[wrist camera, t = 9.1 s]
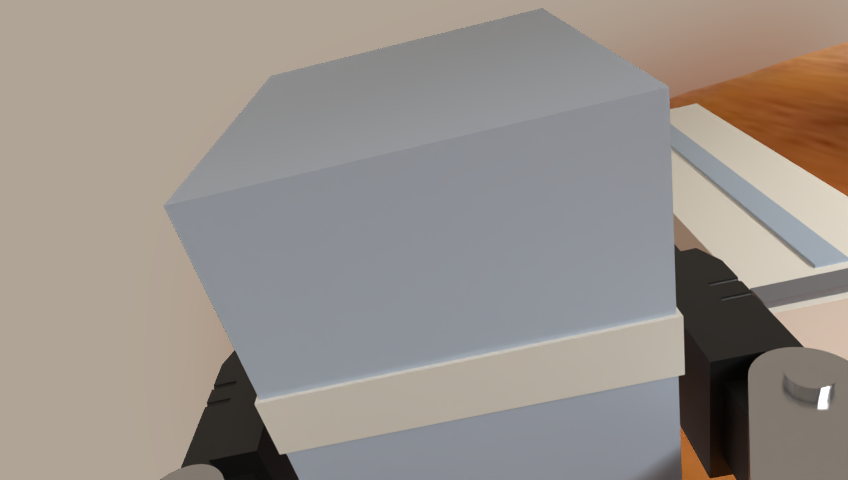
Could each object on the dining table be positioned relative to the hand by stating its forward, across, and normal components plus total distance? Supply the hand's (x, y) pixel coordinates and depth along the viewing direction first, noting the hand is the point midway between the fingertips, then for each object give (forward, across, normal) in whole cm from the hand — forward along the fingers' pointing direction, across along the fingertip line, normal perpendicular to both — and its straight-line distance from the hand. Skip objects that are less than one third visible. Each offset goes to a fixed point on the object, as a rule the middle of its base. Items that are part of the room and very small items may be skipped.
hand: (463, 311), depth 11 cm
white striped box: (+8, -9, +7) cm, 14 cm away
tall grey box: (-2, 0, +7) cm, 7 cm away
